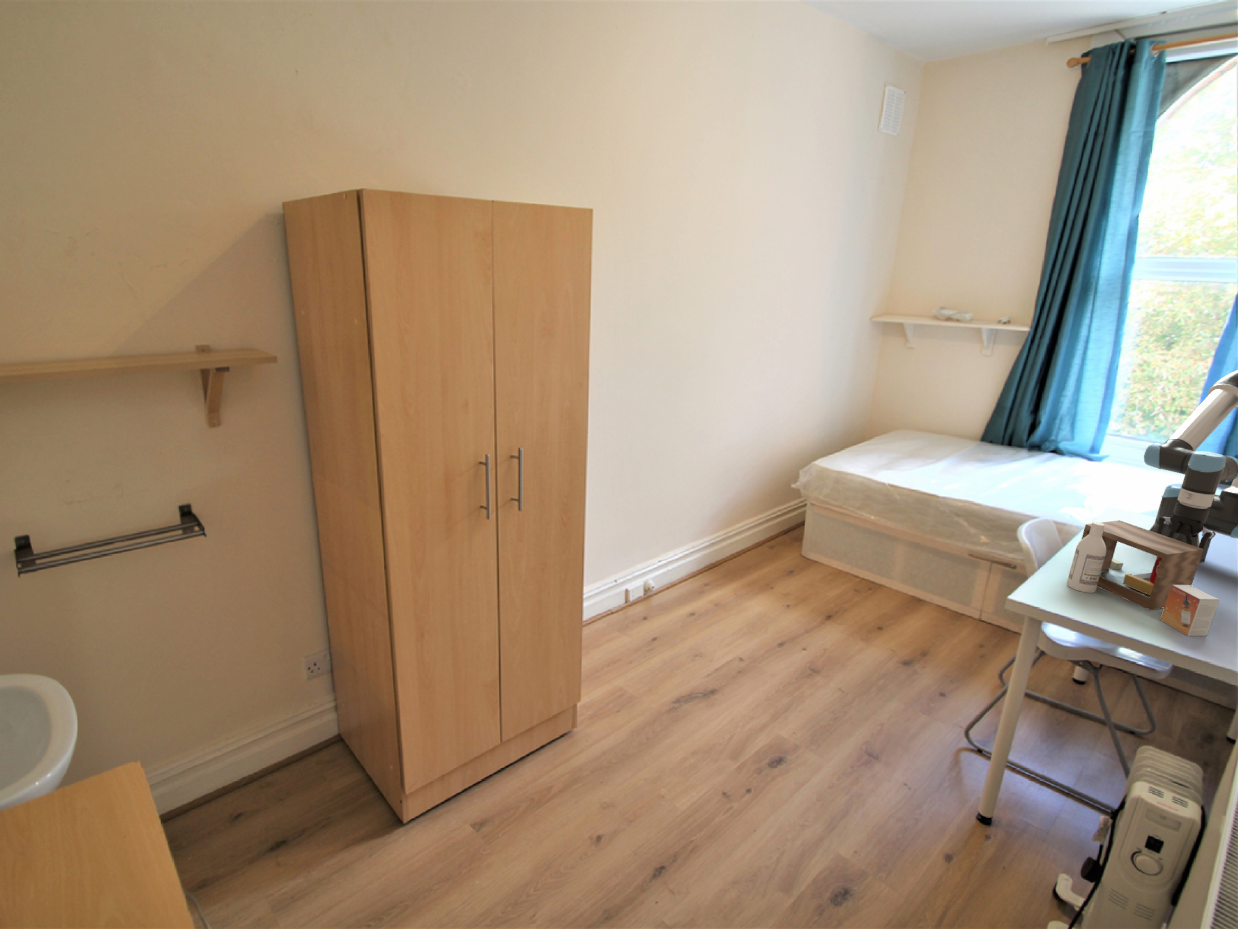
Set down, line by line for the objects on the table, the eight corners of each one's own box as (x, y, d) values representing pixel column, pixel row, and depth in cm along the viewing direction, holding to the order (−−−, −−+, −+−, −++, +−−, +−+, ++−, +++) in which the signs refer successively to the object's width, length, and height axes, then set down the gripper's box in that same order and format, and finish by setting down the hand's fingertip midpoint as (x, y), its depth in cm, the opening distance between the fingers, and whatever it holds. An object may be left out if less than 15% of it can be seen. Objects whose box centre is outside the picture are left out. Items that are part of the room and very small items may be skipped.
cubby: (1105, 570, 200) (1119, 520, 195) (1185, 603, 180) (1203, 549, 176) (1071, 575, 195) (1085, 524, 190) (1150, 610, 175) (1167, 554, 170)
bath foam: (1101, 592, 185) (1119, 527, 179) (1084, 594, 182) (1102, 529, 177) (1077, 581, 191) (1094, 518, 185) (1060, 583, 188) (1078, 520, 183)
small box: (1159, 620, 170) (1170, 584, 167) (1178, 620, 170) (1190, 584, 167) (1187, 636, 162) (1200, 599, 159) (1207, 636, 163) (1220, 599, 160)
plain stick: (1079, 553, 213) (1081, 546, 212) (1085, 553, 214) (1087, 546, 213) (1114, 570, 201) (1116, 563, 200) (1121, 570, 201) (1123, 563, 201)
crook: (1164, 575, 197) (1173, 548, 194) (1204, 590, 187) (1213, 562, 185) (1118, 581, 190) (1126, 553, 187) (1156, 598, 180) (1166, 568, 178)
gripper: (1151, 495, 194) (1130, 565, 201) (1222, 516, 178) (1196, 592, 184) (1167, 493, 197) (1146, 563, 203) (1238, 514, 180) (1213, 589, 187)
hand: (1170, 577), depth 194 cm, fingers closed on crook, 5 cm apart
